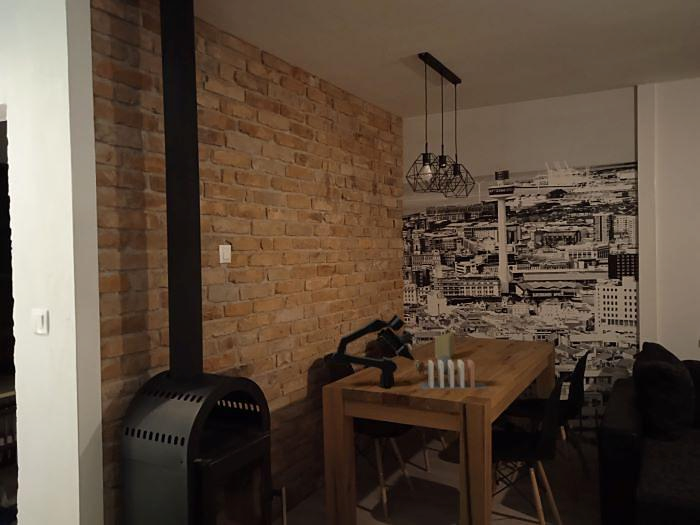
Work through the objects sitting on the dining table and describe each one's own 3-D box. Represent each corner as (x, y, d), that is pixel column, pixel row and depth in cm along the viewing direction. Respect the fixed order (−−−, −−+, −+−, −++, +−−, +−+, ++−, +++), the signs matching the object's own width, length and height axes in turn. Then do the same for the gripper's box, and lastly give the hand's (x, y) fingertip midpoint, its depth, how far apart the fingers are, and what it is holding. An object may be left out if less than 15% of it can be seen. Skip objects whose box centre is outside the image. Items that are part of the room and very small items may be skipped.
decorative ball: (454, 375, 310) (454, 357, 310) (435, 375, 312) (435, 357, 312) (454, 371, 320) (454, 354, 320) (436, 371, 322) (436, 353, 322)
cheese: (446, 353, 377) (446, 331, 377) (460, 354, 372) (460, 331, 372) (434, 359, 358) (434, 335, 357) (449, 360, 353) (449, 336, 353)
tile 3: (450, 387, 281) (450, 363, 280) (447, 383, 290) (447, 359, 290) (454, 387, 281) (453, 363, 280) (451, 383, 290) (450, 359, 290)
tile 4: (461, 387, 281) (460, 363, 280) (457, 383, 290) (457, 359, 290) (464, 387, 281) (464, 363, 280) (461, 383, 290) (460, 359, 290)
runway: (422, 389, 279) (422, 388, 279) (419, 383, 292) (419, 382, 292) (488, 389, 279) (488, 388, 279) (482, 383, 292) (482, 382, 292)
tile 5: (471, 387, 280) (471, 363, 280) (467, 383, 290) (467, 359, 290) (474, 387, 280) (474, 363, 280) (470, 383, 290) (470, 359, 290)
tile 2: (440, 387, 281) (440, 363, 281) (438, 383, 290) (437, 359, 290) (443, 387, 281) (443, 363, 281) (441, 383, 290) (441, 359, 290)
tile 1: (430, 387, 281) (430, 363, 281) (428, 383, 291) (428, 359, 290) (433, 387, 281) (433, 363, 281) (431, 383, 291) (431, 359, 290)
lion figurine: (417, 378, 306) (417, 361, 306) (412, 376, 311) (412, 359, 311) (440, 375, 312) (440, 358, 312) (435, 373, 317) (434, 357, 317)
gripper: (403, 329, 276) (426, 351, 276) (401, 324, 295) (422, 345, 295) (387, 345, 277) (410, 367, 276) (386, 339, 295) (407, 360, 295)
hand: (413, 359), depth 286 cm, fingers closed
